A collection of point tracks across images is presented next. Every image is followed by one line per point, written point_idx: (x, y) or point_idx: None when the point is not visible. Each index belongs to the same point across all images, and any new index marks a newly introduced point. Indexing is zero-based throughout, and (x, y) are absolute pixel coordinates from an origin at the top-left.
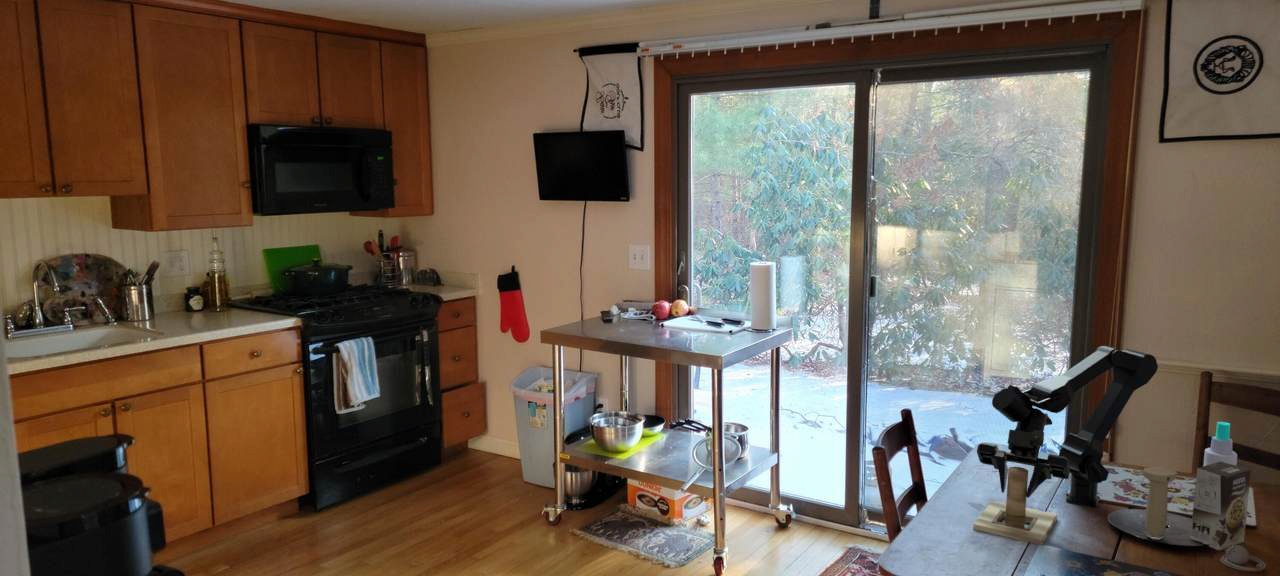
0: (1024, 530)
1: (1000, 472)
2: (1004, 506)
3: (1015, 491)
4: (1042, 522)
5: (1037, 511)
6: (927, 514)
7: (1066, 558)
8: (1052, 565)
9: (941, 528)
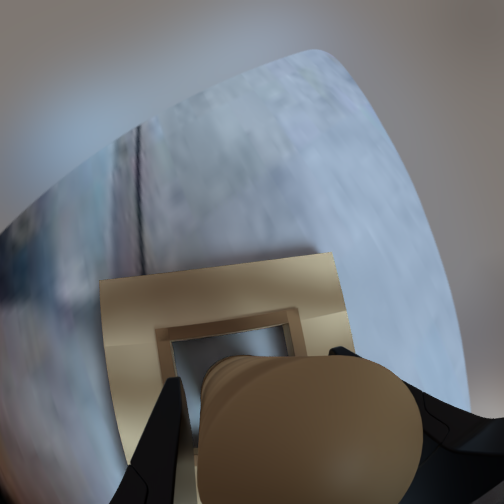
0: (172, 320)
1: (435, 404)
2: None
3: (253, 358)
4: None
5: None
6: (441, 268)
7: (37, 240)
8: (64, 176)
9: (377, 207)
